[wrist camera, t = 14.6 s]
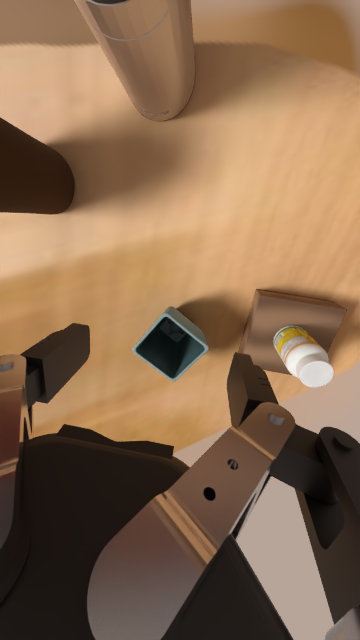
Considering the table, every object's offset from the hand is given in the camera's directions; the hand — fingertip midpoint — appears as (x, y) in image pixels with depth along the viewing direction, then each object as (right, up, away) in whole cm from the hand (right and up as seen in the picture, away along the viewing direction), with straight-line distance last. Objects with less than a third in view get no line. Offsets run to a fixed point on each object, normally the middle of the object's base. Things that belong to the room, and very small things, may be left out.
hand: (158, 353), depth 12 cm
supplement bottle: (+19, -1, +25) cm, 31 cm away
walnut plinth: (+20, 0, +28) cm, 34 cm away
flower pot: (+1, +1, +30) cm, 30 cm away
